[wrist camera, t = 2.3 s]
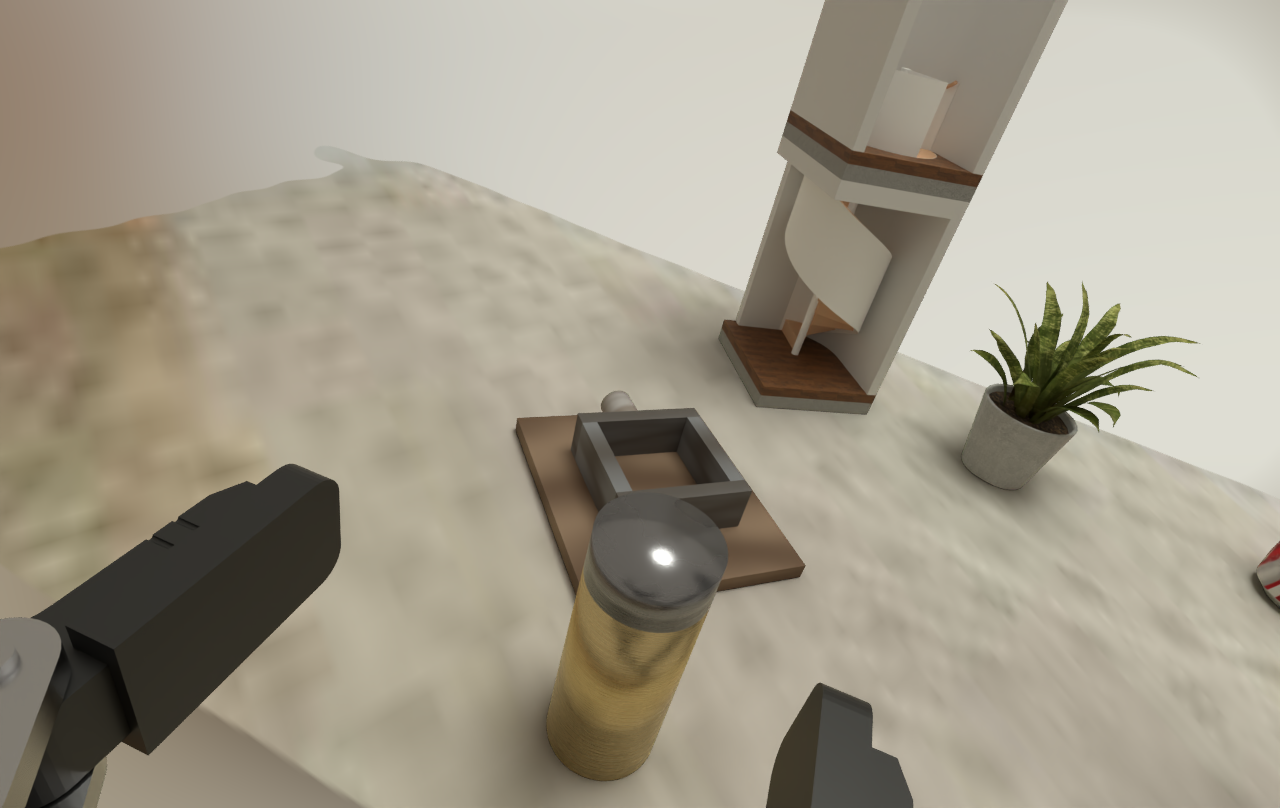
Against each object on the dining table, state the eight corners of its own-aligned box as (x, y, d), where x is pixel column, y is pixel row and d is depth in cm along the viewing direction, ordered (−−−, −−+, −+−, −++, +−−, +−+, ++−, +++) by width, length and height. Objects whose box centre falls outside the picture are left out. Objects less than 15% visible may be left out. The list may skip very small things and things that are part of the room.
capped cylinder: (671, 764, 30) (752, 583, 24) (563, 794, 28) (620, 606, 22) (632, 666, 34) (693, 486, 27) (534, 687, 32) (575, 498, 25)
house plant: (1135, 526, 54) (1283, 351, 46) (1023, 555, 48) (1169, 358, 39) (997, 420, 65) (1096, 259, 56) (890, 432, 58) (982, 254, 50)
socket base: (799, 576, 42) (823, 530, 40) (583, 614, 36) (596, 562, 34) (692, 419, 53) (705, 377, 51) (515, 429, 48) (522, 381, 45)
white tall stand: (718, 338, 66) (856, -100, 47) (815, 347, 69) (983, -62, 50) (756, 406, 57) (946, -101, 38) (866, 414, 60) (1094, -54, 41)
